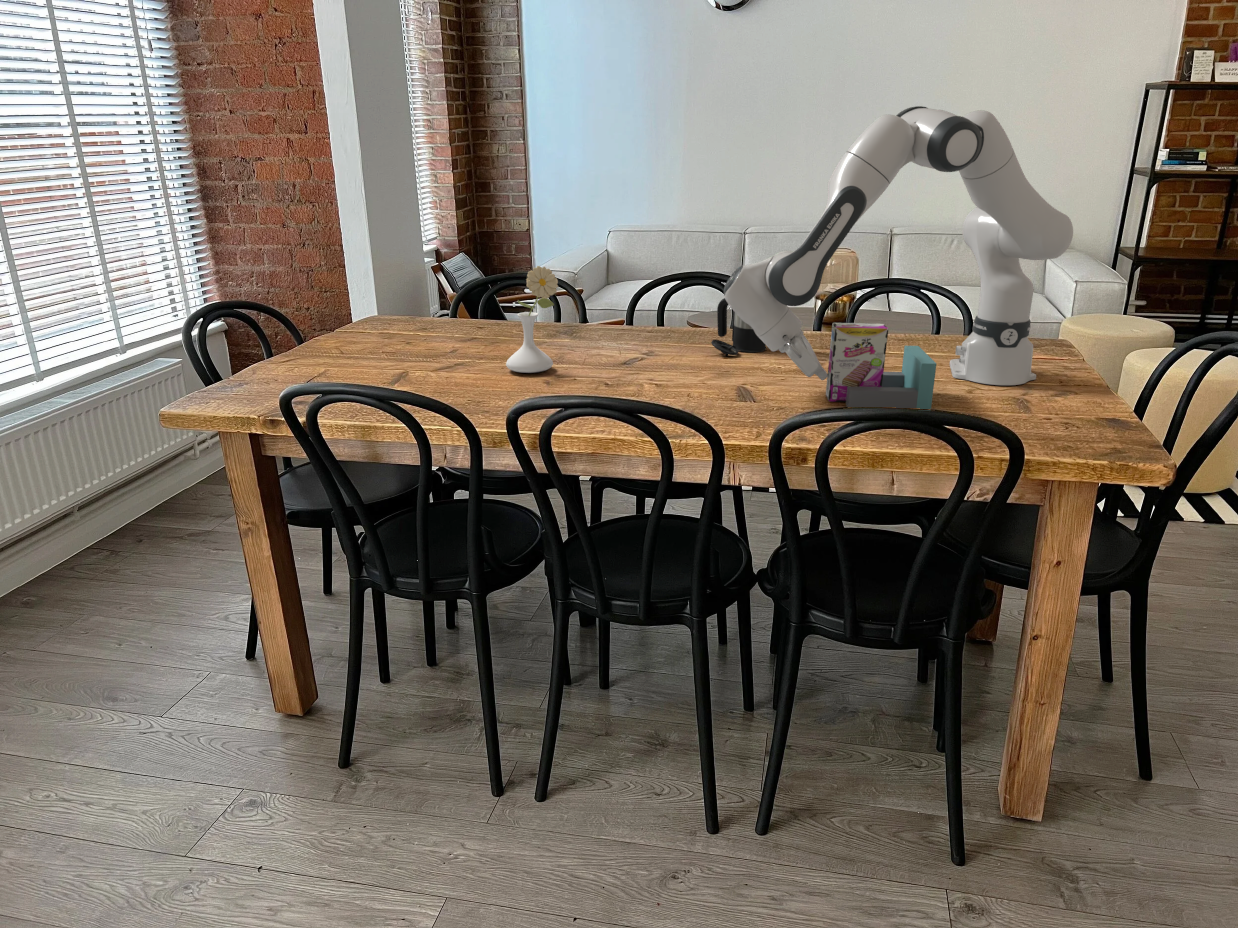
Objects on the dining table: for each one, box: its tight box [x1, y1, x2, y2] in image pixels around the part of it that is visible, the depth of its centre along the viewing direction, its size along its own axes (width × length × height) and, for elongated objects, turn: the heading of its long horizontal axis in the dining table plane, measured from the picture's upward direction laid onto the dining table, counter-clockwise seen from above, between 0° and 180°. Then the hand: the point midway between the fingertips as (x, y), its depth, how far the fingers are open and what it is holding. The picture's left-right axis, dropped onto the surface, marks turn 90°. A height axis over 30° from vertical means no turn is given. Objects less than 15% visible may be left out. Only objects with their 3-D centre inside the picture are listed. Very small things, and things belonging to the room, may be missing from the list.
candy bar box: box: [825, 322, 889, 403], centre depth 195 cm, size 11×5×16 cm, turn 87°
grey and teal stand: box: [845, 345, 937, 410], centre depth 197 cm, size 16×17×10 cm
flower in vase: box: [505, 265, 559, 374], centre depth 218 cm, size 13×11×25 cm
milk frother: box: [711, 297, 768, 357], centre depth 238 cm, size 14×16×15 cm
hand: (824, 376), depth 199 cm, fingers closed, pressing on candy bar box
